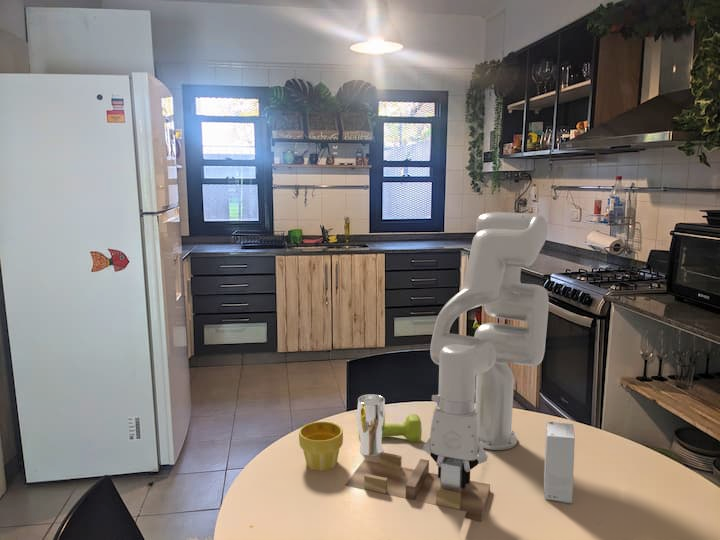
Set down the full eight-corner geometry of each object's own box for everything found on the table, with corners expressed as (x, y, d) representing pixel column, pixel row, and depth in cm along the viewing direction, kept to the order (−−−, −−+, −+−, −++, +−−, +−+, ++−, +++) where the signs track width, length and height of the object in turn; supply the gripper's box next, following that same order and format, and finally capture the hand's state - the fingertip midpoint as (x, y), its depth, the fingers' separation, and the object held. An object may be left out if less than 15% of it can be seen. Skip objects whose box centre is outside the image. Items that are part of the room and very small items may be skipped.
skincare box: (572, 504, 120) (577, 439, 118) (542, 499, 122) (546, 435, 119) (570, 484, 128) (574, 422, 126) (542, 479, 130) (546, 419, 127)
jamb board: (363, 465, 136) (364, 448, 135) (489, 490, 125) (490, 472, 125) (344, 491, 125) (344, 472, 124) (481, 521, 114) (481, 501, 114)
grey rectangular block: (448, 475, 126) (449, 446, 125) (466, 479, 125) (467, 449, 124) (440, 494, 119) (441, 463, 118) (459, 498, 117) (460, 466, 116)
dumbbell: (358, 450, 144) (358, 423, 143) (358, 435, 152) (358, 410, 151) (422, 449, 144) (423, 423, 143) (419, 435, 152) (419, 410, 151)
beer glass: (382, 464, 137) (383, 406, 134) (354, 461, 138) (354, 403, 135) (386, 450, 143) (387, 395, 141) (360, 448, 145) (360, 392, 142)
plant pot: (302, 482, 129) (301, 442, 127) (297, 460, 139) (296, 422, 137) (346, 477, 131) (346, 438, 129) (339, 456, 141) (338, 419, 139)
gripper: (413, 404, 118) (411, 484, 121) (494, 416, 112) (490, 500, 115) (422, 391, 125) (420, 467, 128) (499, 402, 119) (495, 482, 122)
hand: (453, 482), depth 122 cm, fingers closed on grey rectangular block, 4 cm apart
